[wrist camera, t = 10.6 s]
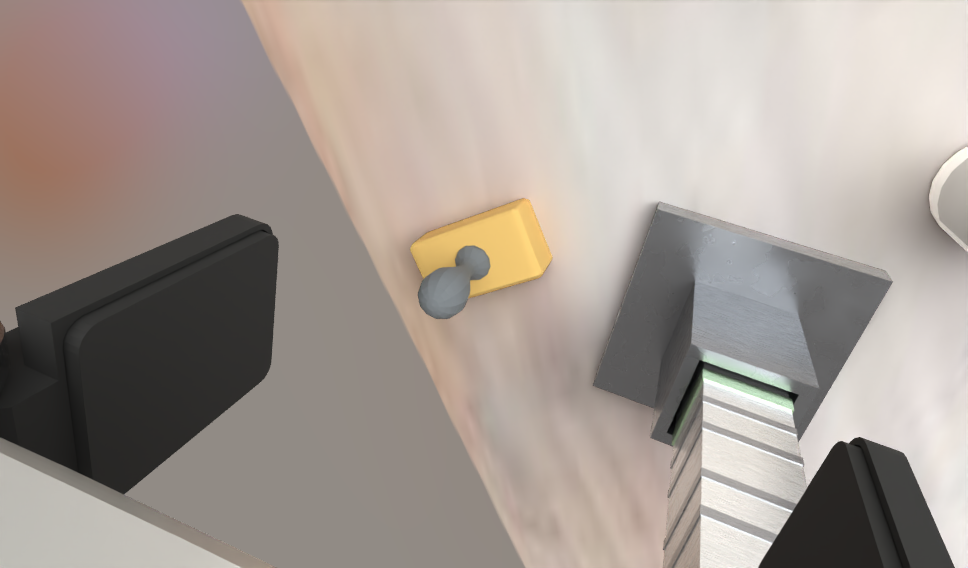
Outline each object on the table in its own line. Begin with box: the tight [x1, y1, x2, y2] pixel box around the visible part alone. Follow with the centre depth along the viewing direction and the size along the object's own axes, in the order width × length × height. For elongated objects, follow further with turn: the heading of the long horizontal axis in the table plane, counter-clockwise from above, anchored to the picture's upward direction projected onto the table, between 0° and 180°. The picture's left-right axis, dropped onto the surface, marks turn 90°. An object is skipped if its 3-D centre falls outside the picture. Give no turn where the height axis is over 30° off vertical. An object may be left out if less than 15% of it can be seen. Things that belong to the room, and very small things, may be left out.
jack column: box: [663, 360, 807, 568], centre depth 30 cm, size 5×5×22 cm
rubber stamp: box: [410, 198, 552, 319], centre depth 47 cm, size 10×6×12 cm, turn 114°
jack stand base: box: [593, 202, 893, 446], centre depth 43 cm, size 16×16×12 cm
